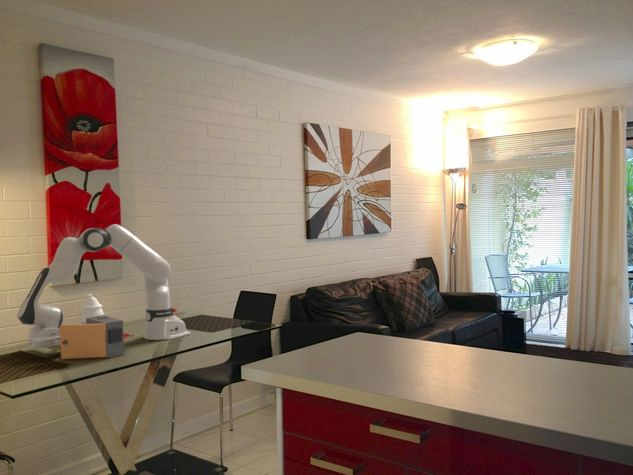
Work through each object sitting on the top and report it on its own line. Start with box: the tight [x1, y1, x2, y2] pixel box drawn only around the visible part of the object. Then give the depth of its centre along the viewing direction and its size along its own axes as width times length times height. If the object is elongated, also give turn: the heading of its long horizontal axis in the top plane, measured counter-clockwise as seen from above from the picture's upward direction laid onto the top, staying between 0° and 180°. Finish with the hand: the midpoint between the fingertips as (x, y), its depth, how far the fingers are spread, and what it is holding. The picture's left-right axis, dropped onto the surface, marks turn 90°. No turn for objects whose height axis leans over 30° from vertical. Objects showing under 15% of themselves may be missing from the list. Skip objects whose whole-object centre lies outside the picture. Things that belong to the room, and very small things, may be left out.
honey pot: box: [79, 293, 105, 324], centre depth 322 cm, size 13×13×18 cm
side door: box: [60, 323, 106, 360], centre depth 252 cm, size 3×18×14 cm, turn 96°
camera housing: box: [86, 314, 125, 359], centre depth 263 cm, size 8×19×16 cm, turn 46°
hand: (63, 342), depth 254 cm, fingers closed
